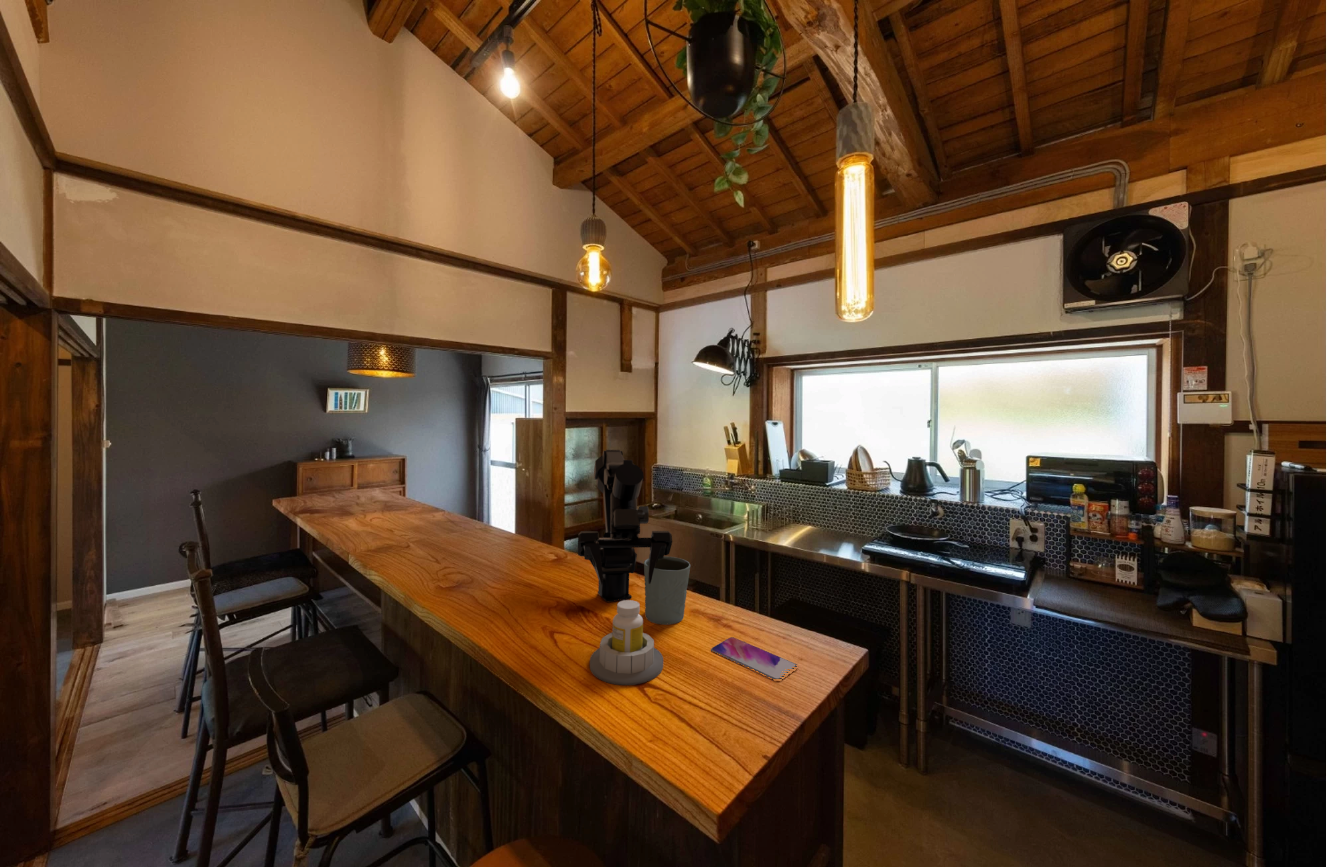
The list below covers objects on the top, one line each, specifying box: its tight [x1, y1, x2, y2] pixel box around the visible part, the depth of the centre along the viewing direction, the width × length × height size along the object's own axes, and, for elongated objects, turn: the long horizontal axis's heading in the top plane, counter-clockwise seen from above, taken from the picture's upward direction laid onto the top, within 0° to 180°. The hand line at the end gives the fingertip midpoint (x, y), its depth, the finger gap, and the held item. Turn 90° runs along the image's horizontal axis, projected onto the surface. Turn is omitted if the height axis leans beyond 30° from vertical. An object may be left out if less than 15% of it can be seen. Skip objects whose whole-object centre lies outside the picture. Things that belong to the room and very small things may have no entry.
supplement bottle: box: [611, 599, 644, 653], centre depth 85 cm, size 5×5×10 cm
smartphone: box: [710, 636, 798, 679], centre depth 89 cm, size 7×1×15 cm
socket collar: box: [589, 632, 664, 686], centre depth 85 cm, size 13×13×4 cm
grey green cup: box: [643, 555, 691, 626], centre depth 106 cm, size 10×10×12 cm
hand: (625, 583), depth 92 cm, fingers open, 9 cm apart
